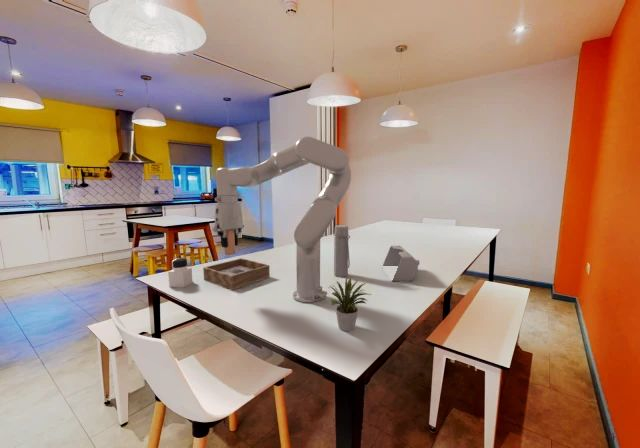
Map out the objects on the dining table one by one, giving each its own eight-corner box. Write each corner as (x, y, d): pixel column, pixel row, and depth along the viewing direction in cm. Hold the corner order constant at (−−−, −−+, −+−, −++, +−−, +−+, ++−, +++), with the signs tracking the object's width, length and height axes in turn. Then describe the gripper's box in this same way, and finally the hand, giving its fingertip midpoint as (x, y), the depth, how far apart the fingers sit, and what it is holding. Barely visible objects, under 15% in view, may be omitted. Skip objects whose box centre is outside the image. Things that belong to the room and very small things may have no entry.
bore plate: (257, 275, 139) (257, 270, 138) (233, 283, 128) (233, 277, 128) (240, 270, 147) (240, 265, 147) (216, 277, 136) (215, 272, 136)
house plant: (341, 346, 80) (342, 291, 77) (313, 326, 91) (313, 277, 89) (376, 331, 88) (378, 281, 86) (347, 315, 99) (347, 269, 97)
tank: (426, 282, 132) (427, 256, 130) (391, 282, 133) (392, 256, 131) (411, 267, 157) (412, 245, 155) (382, 266, 157) (382, 244, 156)
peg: (237, 253, 114) (236, 228, 112) (228, 255, 110) (227, 230, 109) (231, 252, 116) (230, 228, 115) (222, 254, 113) (221, 229, 112)
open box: (269, 277, 140) (269, 265, 139) (231, 290, 122) (230, 276, 122) (241, 268, 153) (241, 258, 152) (204, 279, 136) (203, 267, 135)
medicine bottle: (192, 282, 132) (191, 257, 131) (184, 287, 125) (182, 261, 124) (178, 281, 133) (176, 256, 131) (168, 287, 126) (166, 260, 124)
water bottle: (330, 275, 143) (330, 226, 139) (341, 271, 148) (341, 224, 145) (343, 279, 136) (344, 228, 133) (354, 276, 141) (355, 226, 138)
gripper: (213, 201, 101) (216, 251, 104) (251, 199, 115) (252, 243, 117) (202, 200, 106) (205, 248, 109) (239, 198, 119) (241, 241, 122)
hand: (229, 245), depth 113 cm, fingers closed on peg, 4 cm apart
